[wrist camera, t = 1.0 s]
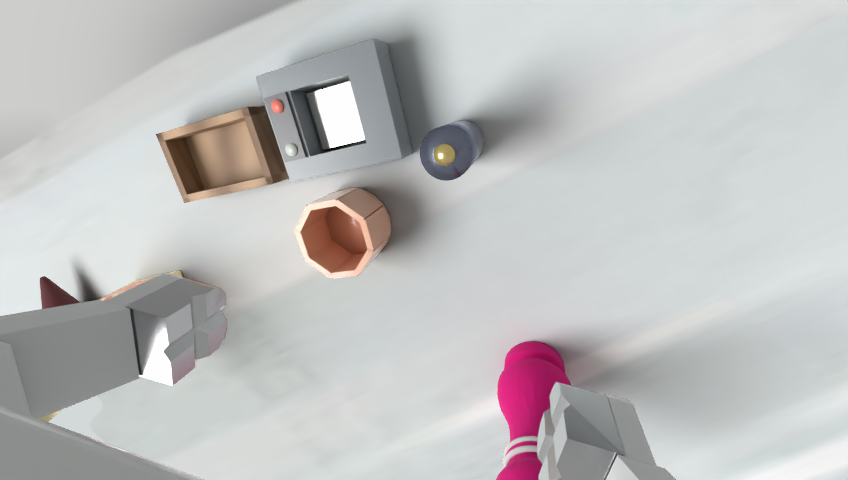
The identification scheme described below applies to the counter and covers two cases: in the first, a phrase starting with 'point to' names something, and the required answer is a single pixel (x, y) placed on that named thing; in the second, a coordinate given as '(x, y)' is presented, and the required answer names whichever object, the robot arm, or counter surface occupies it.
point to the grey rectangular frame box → (372, 98)
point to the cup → (343, 232)
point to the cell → (451, 149)
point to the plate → (336, 115)
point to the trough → (224, 154)
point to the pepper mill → (527, 404)
